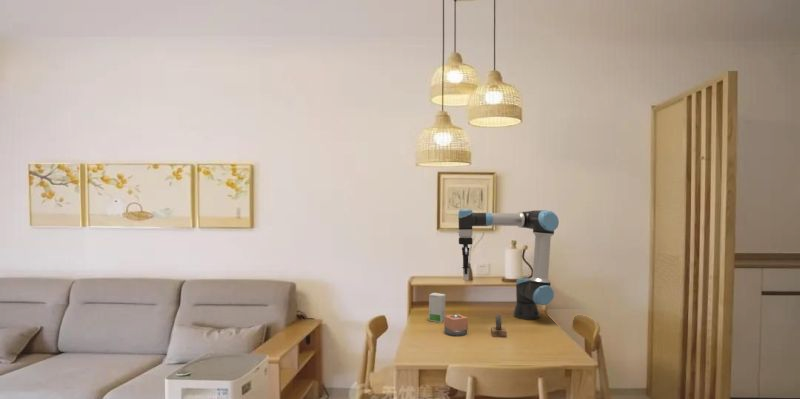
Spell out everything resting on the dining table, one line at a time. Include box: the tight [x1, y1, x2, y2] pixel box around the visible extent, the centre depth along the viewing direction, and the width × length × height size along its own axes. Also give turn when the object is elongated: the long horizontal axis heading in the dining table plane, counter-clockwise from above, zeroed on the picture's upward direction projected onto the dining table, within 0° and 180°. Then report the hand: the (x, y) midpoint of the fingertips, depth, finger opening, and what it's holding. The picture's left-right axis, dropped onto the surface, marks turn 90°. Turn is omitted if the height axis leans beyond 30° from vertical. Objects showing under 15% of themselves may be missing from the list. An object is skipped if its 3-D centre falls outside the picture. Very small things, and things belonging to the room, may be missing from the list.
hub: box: [443, 313, 468, 337], centre depth 223 cm, size 12×12×10 cm
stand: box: [490, 314, 508, 338], centre depth 219 cm, size 7×7×10 cm
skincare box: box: [428, 292, 447, 323], centre depth 248 cm, size 8×7×16 cm
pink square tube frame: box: [443, 313, 469, 331], centre depth 223 cm, size 9×9×6 cm
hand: (465, 279), depth 233 cm, fingers closed
